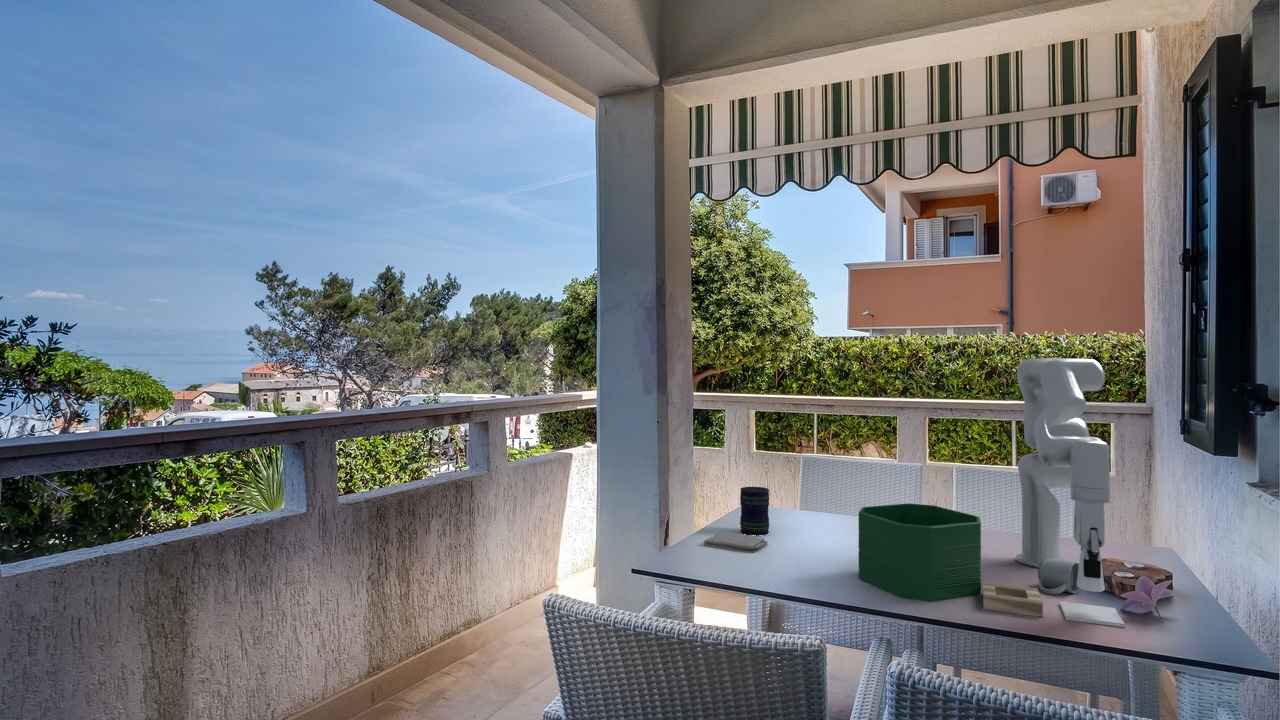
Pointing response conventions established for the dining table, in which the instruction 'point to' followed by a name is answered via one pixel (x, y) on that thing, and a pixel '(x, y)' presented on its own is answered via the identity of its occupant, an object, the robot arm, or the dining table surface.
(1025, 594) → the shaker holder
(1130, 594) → the lily
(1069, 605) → the ceramic coaster
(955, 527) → the planter
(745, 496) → the storage jar
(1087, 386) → the robot arm
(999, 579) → the dining table surface
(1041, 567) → the ceramic mug
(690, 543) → the dining table surface
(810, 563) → the dining table surface
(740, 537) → the washcloth
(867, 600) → the dining table surface
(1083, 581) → the pepper shaker
